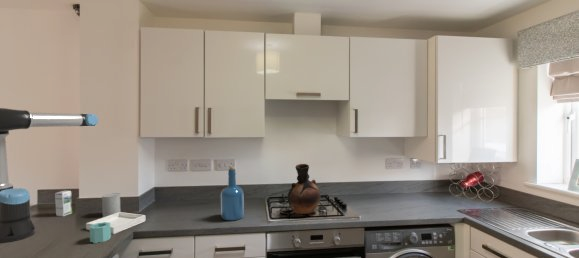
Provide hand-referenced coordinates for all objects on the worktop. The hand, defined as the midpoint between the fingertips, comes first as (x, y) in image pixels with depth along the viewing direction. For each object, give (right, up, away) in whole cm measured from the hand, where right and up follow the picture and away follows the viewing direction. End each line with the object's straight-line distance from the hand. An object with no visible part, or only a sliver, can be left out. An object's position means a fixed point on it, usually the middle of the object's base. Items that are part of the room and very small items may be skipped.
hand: (91, 166), depth 193 cm
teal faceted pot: (+41, -29, -53) cm, 73 cm away
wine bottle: (+100, -27, -23) cm, 106 cm away
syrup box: (-6, -28, -15) cm, 33 cm away
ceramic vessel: (+143, -27, -17) cm, 146 cm away
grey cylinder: (+24, -28, -16) cm, 40 cm away
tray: (+38, -28, -34) cm, 58 cm away
